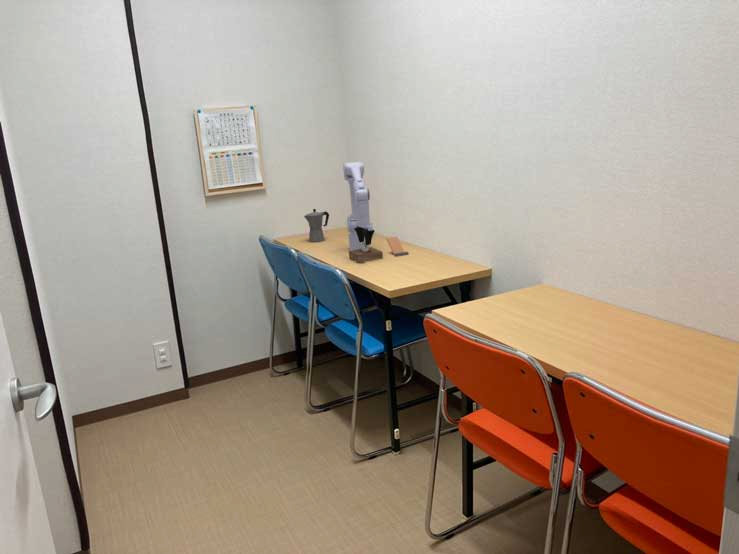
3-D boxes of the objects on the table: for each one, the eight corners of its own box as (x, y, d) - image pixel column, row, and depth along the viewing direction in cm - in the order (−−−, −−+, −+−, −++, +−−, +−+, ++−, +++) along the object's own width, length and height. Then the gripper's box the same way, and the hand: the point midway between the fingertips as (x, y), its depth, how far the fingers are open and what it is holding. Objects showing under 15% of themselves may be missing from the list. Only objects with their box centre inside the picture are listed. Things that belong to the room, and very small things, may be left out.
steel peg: (361, 259, 280) (360, 242, 277) (367, 258, 281) (366, 241, 279) (364, 260, 277) (363, 243, 275) (370, 259, 278) (369, 243, 276)
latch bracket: (394, 257, 279) (394, 253, 279) (406, 255, 282) (406, 251, 282) (396, 258, 278) (396, 254, 277) (408, 255, 281) (408, 252, 280)
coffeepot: (310, 243, 321) (307, 211, 316) (302, 241, 329) (299, 209, 324) (334, 239, 329) (332, 207, 324) (326, 237, 337) (324, 206, 332)
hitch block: (349, 258, 282) (348, 250, 281) (371, 255, 286) (371, 247, 285) (359, 263, 271) (359, 255, 270) (382, 259, 276) (382, 251, 275)
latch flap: (386, 239, 285) (387, 237, 284) (396, 237, 288) (397, 236, 287) (394, 257, 281) (395, 255, 280) (404, 255, 283) (405, 253, 282)
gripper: (377, 215, 268) (379, 244, 272) (364, 211, 281) (366, 239, 285) (363, 217, 266) (365, 247, 269) (351, 213, 278) (352, 241, 282)
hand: (364, 243), depth 277 cm, fingers open, 7 cm apart
